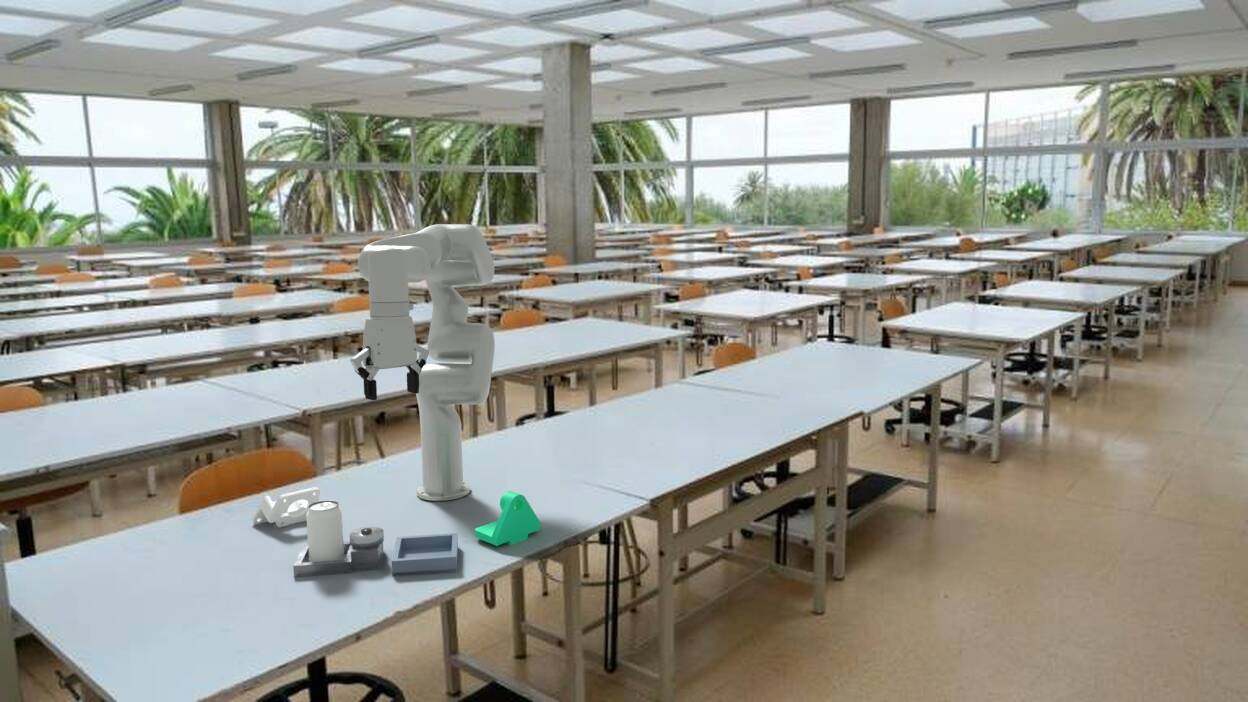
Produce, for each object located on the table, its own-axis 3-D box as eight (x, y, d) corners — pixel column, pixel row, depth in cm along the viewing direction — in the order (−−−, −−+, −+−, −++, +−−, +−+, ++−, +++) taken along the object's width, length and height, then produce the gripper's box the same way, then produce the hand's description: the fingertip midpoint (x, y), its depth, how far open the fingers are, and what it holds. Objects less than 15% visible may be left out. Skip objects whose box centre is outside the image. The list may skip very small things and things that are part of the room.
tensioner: (304, 554, 176) (302, 524, 174) (387, 549, 178) (385, 519, 177) (294, 576, 166) (291, 544, 164) (382, 570, 168) (380, 539, 167)
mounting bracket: (260, 539, 189) (264, 501, 184) (249, 520, 192) (253, 482, 187) (314, 525, 197) (320, 488, 192) (303, 507, 200) (308, 470, 195)
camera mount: (517, 525, 192) (515, 479, 190) (540, 534, 187) (539, 487, 185) (473, 541, 183) (471, 493, 181) (496, 551, 178) (495, 502, 176)
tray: (397, 550, 177) (396, 536, 177) (458, 546, 179) (457, 533, 179) (392, 576, 166) (391, 561, 165) (456, 571, 168) (456, 556, 167)
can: (348, 556, 175) (345, 499, 173) (339, 570, 168) (335, 510, 166) (315, 557, 174) (311, 499, 172) (305, 571, 168) (300, 511, 166)
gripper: (415, 306, 182) (418, 387, 185) (339, 312, 170) (343, 399, 172) (437, 308, 177) (439, 392, 180) (360, 315, 165) (364, 404, 167)
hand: (392, 395), depth 176 cm, fingers open, 9 cm apart
